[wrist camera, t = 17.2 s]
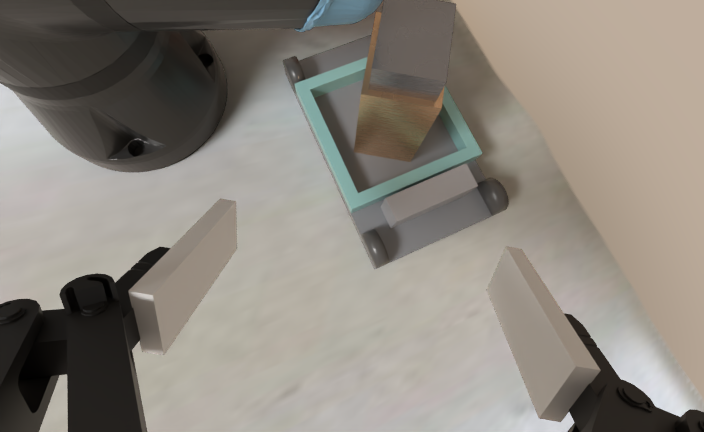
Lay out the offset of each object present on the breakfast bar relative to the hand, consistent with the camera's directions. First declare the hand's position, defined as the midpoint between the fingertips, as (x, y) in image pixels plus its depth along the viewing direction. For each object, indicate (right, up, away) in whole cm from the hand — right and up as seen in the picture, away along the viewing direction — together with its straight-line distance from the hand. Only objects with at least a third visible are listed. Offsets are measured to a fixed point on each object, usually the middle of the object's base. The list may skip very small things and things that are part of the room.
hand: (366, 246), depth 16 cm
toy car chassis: (+3, +8, +14) cm, 17 cm away
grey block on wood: (+2, +10, +13) cm, 17 cm away
